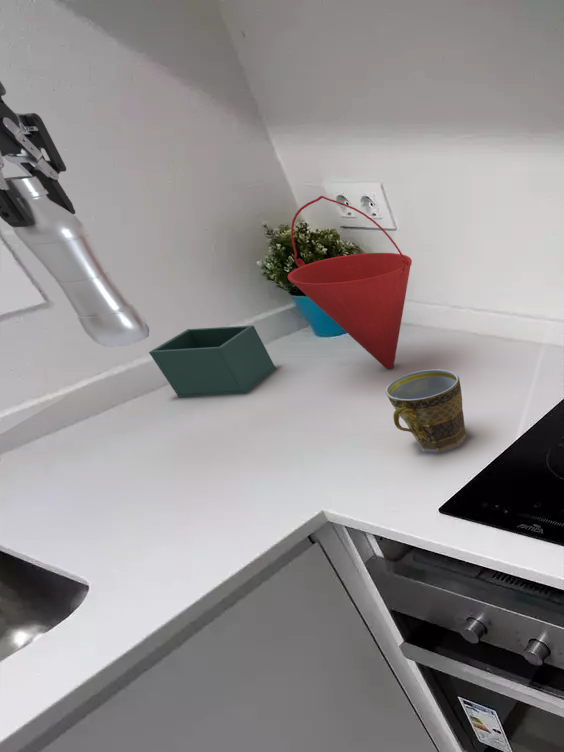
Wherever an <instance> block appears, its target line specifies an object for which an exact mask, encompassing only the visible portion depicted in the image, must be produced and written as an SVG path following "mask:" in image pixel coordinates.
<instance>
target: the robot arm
mask: <svg viewBox="0 0 564 752" xmlns="http://www.w3.org/2000/svg"><path fill="white" fill-rule="evenodd" d="M6 94H7V89H6V87H4V85H3V83H2V82H1V80H0V218H1V219H2V220H3V221H4V222H5V223H7V224H8V225H9V226H10V227H11V228H12V227H28V226H31V225H33V222H32V220H31V219H30V217H29V216H28V214H27V213H26V211H25V210H24V208H23V207H22V205H21V204H20V203H19V201H18V200H17V198H16V197H15V195H14V194H13V192H12V191H11V190H5V189H6V183H5V180H4V178H5V177H4V173H3V171H2V169H3V168H4V167H5V161H4V159H5V160H6V161H7V162H9V163H11V164H14V165H16V166H17V167H18V168H19V169H21V171H23V173H24V174H26V176H36V177H37V178H38V179H39V181H40V182H41V184H42V185H43V187H44V189H46V190H47V191H48V193H49V194H46V195H47V197H48V198H49V199H50V200H51V201H53V202H55V203H56V204H58V205H60V206H61V207H63V208H65V209H66V210H67V211H69V212H70V213H72V214H73V215H75V214H76V210H75V208H74V205H73V203H72V201H71V199H70V198H69V196H68V195H67V193H66V192H65V190H64V188H63V186H62V185H61V183H60V182H59V178H60V176H59V174H61V173H63V172H64V173H65V172H67V166H66V164H65V162H64V160H63V158H62V156H61V155H60V153H59V150H58V148H57V146H56V144H55V142H54V141H53V139H52V136H51V135H50V132H49V131H48V128H47V127H46V125H45V122H44V121H43V119H42V117H41V116H40V115H39V114H37V113H35V112H27V113H25V112H24V113H16V112H14V110H12V109H11V108H10V107H9V106H8V104H7V103H6V102H5V100H3V98H2V97H4V96H5V95H6ZM42 149H43V150H44V151H45V153H46V155H47V157H48V159H49V160H46V158H45V156H44V153H43V152H42ZM32 164H33V165H32Z"/></svg>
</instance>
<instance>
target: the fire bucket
mask: <svg viewBox="0 0 564 752" xmlns="http://www.w3.org/2000/svg"><path fill="white" fill-rule="evenodd" d="M322 199H324V200H326V201H329V202H332V203H335V204H338V205H341V206H343V207H345V208H348V209H351V210H353V211H355V212H357V213H359V214H361V215H362V216H364V217H365V218H367V219H368V220H369V221H370V222H372V223H373V224H375V225H376V226H377V227H378V228H379V229H380V230H381V231H382V232H383V234H385V236H386V237H387V238H388V240H390V241H391V243H392V244H393V246H394V247H395V248H396V250H397V251H398V253H395V252H365V253H354V254H353V253H352V254H346V255H340V256H334V257H330V258H325V259H321V260H316V261H313V262H309V263H305V262H304V260H302V259H301V258H298V251H297V249H296V244H295V238H294V227H295V223H296V220H297V218H298V216H299V214H300V213H301V212H302V211H303V210H304V209H306V208H307V207H309V206H311V205H312V204H314V203H317V202H318V201H320V200H322ZM290 238H291V244H292V248H293V252H294V257H293V258H294V261H295V265H296V266H297V268H295V269H293V270H292V271H290V272H289V273H288V275H287V279H288V281H289V282H290V283H292V284H293V285H294V286H295V287H297V288H298V290H300V291H301V293H303V294H304V295H305V296H306V297H307V298H309V299H310V300H311V301H312V302H313V303H314V304H315V305H316V306H317V307H318V308H319V309H320V310H322V311H323V312H324V313H325V314H326V315H327V316H328V317H329V318H330V319H332V320H333V321H334V322H335V323H336V324H337V325H338V326H339V327H340V328H341V329H342V330H343V331H344V332H345V333H347V334H348V335H349V336H350V337H351V338H352V339H353V340H354V341H356V342H357V344H359V345H360V346H361V347H362V348H363V349H364V350H365V351H367V352H368V354H370V355H371V356H372V357H373V358H374V359H375V360H376V361H377V362H378V363H379V364H380V365H381V366H382V367H384V368H385V369H386V370H393V369H394V367H395V362H396V356H397V355H396V353H397V349H398V343H399V337H400V331H401V325H402V319H403V313H404V307H405V301H406V295H407V289H408V285H409V277H410V272H411V266H412V263H413V259H412V258H411V257H410V256H408V255H406V254H403V253H402V251H401V250H400V248H399V246H398V245H397V243H396V242H395V241H394V239H393V238H392V237H391V236H390V234H388V232H386V230H385V228H383V227H382V226H381V225H380V224H379V223H378V222H376V220H375V219H373V218H371V217H370V216H368V215H367V214H366V213H365V212H362V211H361V210H359V209H357V208H356V207H354V206H351V205H349V204H346V203H343V202H341V201H337V200H335V199H331V198H329V197H327V196H324V195H320V196H318V197H317V198H316V199H313V200H310V201H309V202H307V203H305V204H304V205H302V206H301V207H299V209H298V210H297V212H296V213H295V215H294V216H293V218H292V221H291V227H290Z"/></svg>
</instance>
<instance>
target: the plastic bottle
mask: <svg viewBox="0 0 564 752" xmlns="http://www.w3.org/2000/svg"><path fill="white" fill-rule="evenodd" d="M4 180H5V183H6V189H5V190H11V191H12V192H13V194H14V195H15V197H16V198H17V200H18V201H19V203H20V204H21V205H22V207H23V208H24V210H25V211H26V213H27V214H28V216H29V217H30V219H31V220H32V222H33V225H31V226H28V227H12V226H11V228H12V230H13V233H14V235H16V237H17V238H18V239H19V241H21V242H22V244H23V245H24V246H25V247H26V248H27V249H28V250H29V251H30V253H31V254H32V255H33V256H34V257H35V258H36V259H37V260H38V262H39V263H41V265H42V266H43V267H44V269H45V270H46V271H47V273H49V275H50V276H51V277H52V278H53V279H54V280H55V282H56V284H57V285H58V286H59V288H60V289H61V290H62V292H63V294H64V296H65V297H66V299H67V300H68V302H69V304H70V305H71V308H72V309H73V310H74V313H76V317H77V319H78V322H79V323H80V326H81V327H82V329H83V331H84V332H85V334H86V335H87V336H88V337H89V338H90V339H91V340H92V341H93V342H94V343H96V344H98V345H100V346H102V347H107V348H113V347H115V348H116V347H124V346H130V345H134V344H136V343H139V342H142V341H143V340H145V339H147V338H148V337H149V335H150V326H149V325H148V323H147V320H146V318H145V316H144V315H142V314H141V312H140V311H139V310H138V309H137V307H136V306H134V305H133V304H132V303H131V302H130V300H129V299H128V297H127V296H126V294H124V292H123V291H122V290H121V288H120V287H119V286H118V285H117V283H116V282H115V280H114V279H113V277H112V276H111V274H110V273H109V271H108V270H107V269H106V266H105V264H104V261H102V259H101V257H100V256H99V253H98V251H97V249H96V247H95V245H94V243H93V241H92V238H91V236H90V235H89V233H88V230H87V228H86V227H85V225H84V223H83V222H82V220H80V219H79V218H78V217H77V216H76V215H75V214H72V213H70V212H69V211H67V210H66V209H65V208H63V207H61V206H60V205H58V204H56V203H55V202H53V201H51V200H50V199H49V198H48V197H47V195H46V194H49V193H48V191H47V190H46V189H44V187H43V185H42V184H41V182H40V181H39V179H38V178H37V177H36V176H28V175H22V176H10V177H4Z"/></svg>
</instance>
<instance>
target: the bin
mask: <svg viewBox="0 0 564 752" xmlns="http://www.w3.org/2000/svg"><path fill="white" fill-rule="evenodd" d="M148 354H149V355H150V356H151V358H152V360H153V361H154V363H155V364H156V365H157V367H158V368H159V371H161V373H162V374H163V376H164V377H165V379H166V381H167V382H168V384H169V385H170V387H171V388H172V390H173V391H174V393H175V394H176V395H177V397H178V398H192V397H193V398H194V397H208V396H224V395H225V396H226V395H239V394H240V395H241V394H242V395H243V394H248V393H249V392H250V391H252V390H253V389H254V388H255V387H256V386H257V385H258V384H260V383H261V382H262V381H263V380H264V379H265V378H267V377H268V376H269V375H270V374H271V373H272V372H274V371H275V370H276V369H277V367H276V366H275V364H274V362H273V360H272V359H271V357H270V354H269V352H268V351H267V349H266V347H265V345H264V342H263V341H262V339H261V337H260V335H259V334H258V331H257V329H256V327H255V325H237V326H235V325H234V326H221V327H220V326H219V327H201V328H187V329H185V330H184V331H182V332H181V333H179V334H177V335H175V336H173V337H172V338H171V339H170V338H169V340H167V341H165V342H163V343H162V344H160V345H158V346H157V347H155V348H153V349H152V350H150V351H149V352H148Z"/></svg>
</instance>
